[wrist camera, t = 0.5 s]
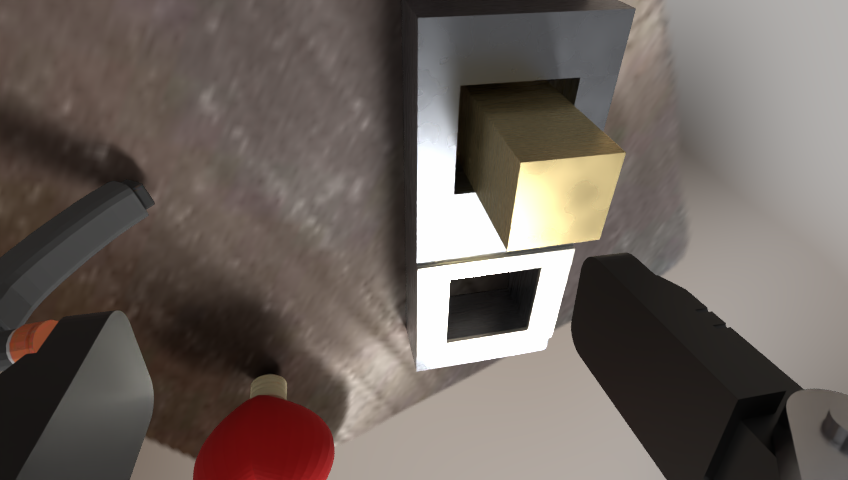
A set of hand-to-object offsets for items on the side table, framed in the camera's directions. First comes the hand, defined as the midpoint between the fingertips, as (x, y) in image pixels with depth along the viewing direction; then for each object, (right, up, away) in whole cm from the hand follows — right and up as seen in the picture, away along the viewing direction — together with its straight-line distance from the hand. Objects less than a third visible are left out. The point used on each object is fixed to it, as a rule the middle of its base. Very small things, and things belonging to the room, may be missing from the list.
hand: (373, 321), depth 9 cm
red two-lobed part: (-11, -9, +30) cm, 33 cm away
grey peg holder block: (+5, +4, +23) cm, 24 cm away
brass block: (+5, +9, +19) cm, 22 cm away
